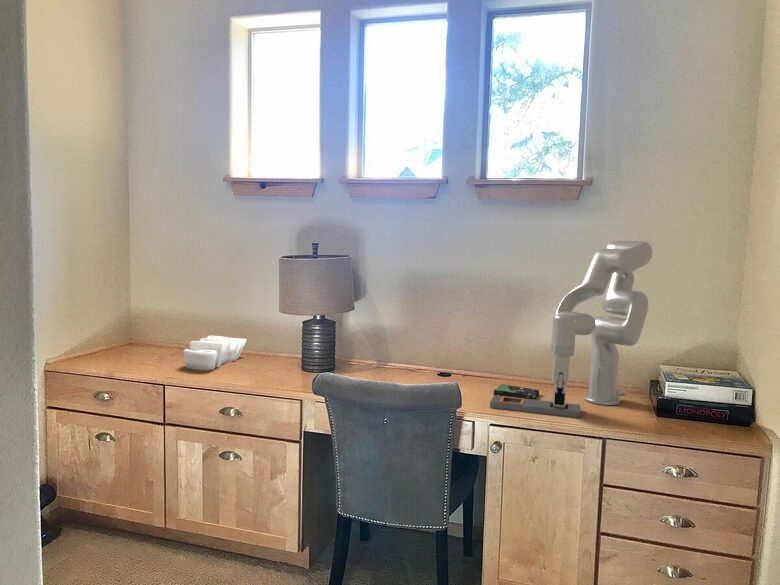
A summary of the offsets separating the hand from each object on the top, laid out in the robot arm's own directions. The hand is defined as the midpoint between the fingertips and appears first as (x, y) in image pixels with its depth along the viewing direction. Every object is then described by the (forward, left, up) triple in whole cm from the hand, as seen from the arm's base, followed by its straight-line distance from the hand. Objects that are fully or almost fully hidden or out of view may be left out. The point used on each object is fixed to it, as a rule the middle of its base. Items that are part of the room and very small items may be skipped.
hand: (559, 402), depth 211 cm
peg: (0, 0, -3) cm, 3 cm away
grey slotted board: (+7, -5, -3) cm, 9 cm away
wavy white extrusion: (+109, -97, -4) cm, 146 cm away
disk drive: (+3, -23, -4) cm, 23 cm away
